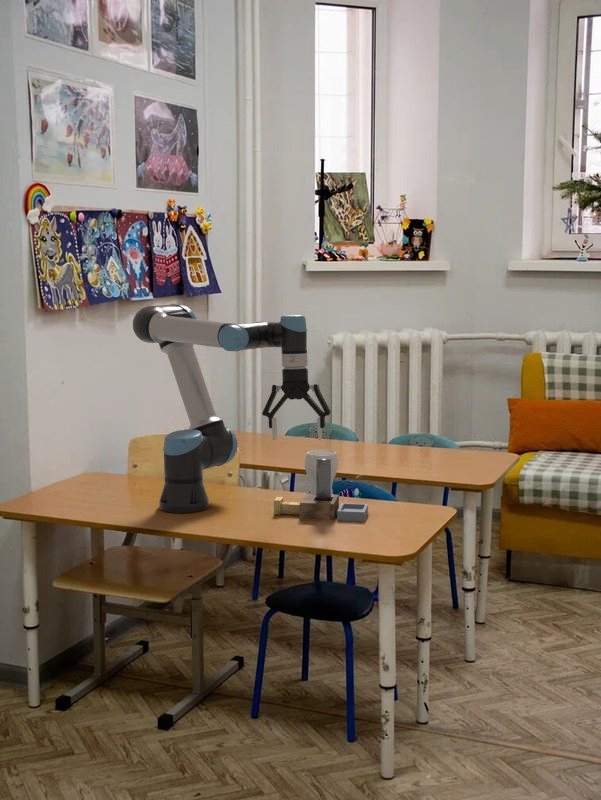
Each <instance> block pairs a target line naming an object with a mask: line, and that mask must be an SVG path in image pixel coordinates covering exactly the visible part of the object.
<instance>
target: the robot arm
mask: <svg viewBox="0 0 601 800" xmlns="http://www.w3.org/2000/svg"><path fill="white" fill-rule="evenodd" d="M132 319H133V320H132V330H133V332H134V334H135V336H136V337H137V338H138V339H139V340H140V341H142V342H143V343H144V342H145V343H149V344H157V343H158V346H159V348H160V349H159V350H160V351H161V352H162V353H164V354H166V355H167V357H168V360H169V363H170V366H171V368H172V369H171V370H172V372H173V375H174V378H175V381H176V385H177V388H178V391H179V393H180V397H181V400H182V403H183V406H184V409H185V411H186V414H187V415H186V416H187V417H188V420H189V423H190V426H189V428H188V429H186V428H185V429H179V430H175V431H173V432H170V433H168V434H167V435H166V436H165V438H164V440H163V450H162V451H163V465H164V467H163V471H164V473H163V474H164V485H163V488H162V491H161V494H160V497H159V502H158V503H159V504H158V506H159V509H160V510H161V511H163V512H167V513H173V514H189V513H197V512H202V511H205V510H208V509H209V506H210V505H209V504H210V503H209V501H210V500H209V497H208V494H207V491H206V488H205V485H204V482H203V481H204V479H203V476H204V475H203V473H204V472H203V470H207V469H210V468H214V467H221V466H224V465H225V464H229V463H230V462H232V460H233V459H234V458H235V456H236V453H237V451H238V437H237V436H236V434H235V432H234V431H233V430H231V428H228V427H226V426H225V423H224V420H223V419H222V418H220V417H218V416H217V415H216V411H215V408H214V405H213V402H212V399H211V396H210V393H209V390H208V388H207V383H206V381H205V377H204V374H203V373H202V369H201V366H200V364H199V360H198V358H197V355H196V352H195V349H194V345H195V346H196V345H199V346H206V347H214V348H222V349H224V351H227V352H240V351H244V350H245V351H246V350H255V349H263V348H264V349H265V348H280V349H281V350H280V351H281V366H282V371H281V373H282V374H281V375H282V378H281V379H282V384H281V385H280V384H277V383H273V384H272V385H271V392H270V395H269V396H268V400H267V401H266V403H265V405H264V408H263V411H262V413H261V414H262V416H264V417H267V418H268V428H269V429H271V430H272V433H271V434H272V440H273V441H276V440H277V439H278V427H277V425H278V424H277V416H275V415H276V414H277V413H278V412H279V410H280V409H281V407H282V406H283V405H284V404H285V402H286V401H287V400H288V399H289V400H290V401H292V400H302V399H303V400H304V401H305V402H306V403H307V404H308V405H309V406H310V407H311V408H312V410H313V411H314V412H315V413H316V414H317V415H318V416H317V418H316V422H317V423H316V425H317V440H318V441H320V440H322V439H323V429H325V427H326V419H325V418H326V417H327V416H329V415H331V413H332V411H331V410H330V408H329V405H328V404H327V401H326V400H325V398H324V396H323V394H322V392H321V390H320V384H319V383H315V384H309V376H308V375H309V369H308V368H307V367H308V366H309V364H308V362H309V361H308V347H307V338H308V337H307V336H308V335H307V333H308V329H307V321H306V320H307V319H306V316H304V315H303V314H302V315H301V314H289V315H288V314H286V315H282V316H280V321H274V322H273V321H256V322H251V323H234V322H233V323H231V322H225V321H223V322H222V321H216V320H214V321H213V320H205V319H197V316H196V315H195V313H194V312H193V310H192V309H190V307H188V306H186V305H183V304H175V303H174V304H173V303H171V304H163V305H148V306H145V307H142V308H141V309H140V310H138V311H137V312H136V313H135V315H134V317H133V318H132ZM280 390H281V391H282V392H283V395H282V396H281V398H280V399H279V401H278V402H277V404H276V405H275V406H274V407H273V408H272V410H271V407H272V405H273V403H274V400H275V399H276V396H277V394H278V393H279V392H280ZM310 390H311V391H312V392H314V394H315V397H316V398H317V400H318V402H319V404H320V406H321V407H320V406H319V405H318V404H317V403H316V402H315V401H314V399H313V398H312V396H311V395H310V394H309V393H308V392H309V391H310ZM270 410H271V411H270ZM269 411H270V412H269Z"/></svg>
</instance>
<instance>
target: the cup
mask: <svg viewBox="0 0 601 800" xmlns="http://www.w3.org/2000/svg"><path fill="white" fill-rule="evenodd" d="M317 458H330V459H331V494H334V492H333V483H334V479H335V477H336V475H337V472H338V468H339V459H338V453H337V452H336V451H334V450H328V449H317V450H316V449H314V450H309V451H307V452H306V454H305V458H304V469H305V472H306V474H307V477H308V479H309V483H310V485H309V486H310V490H309V493H310V494H316V459H317Z"/></svg>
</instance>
